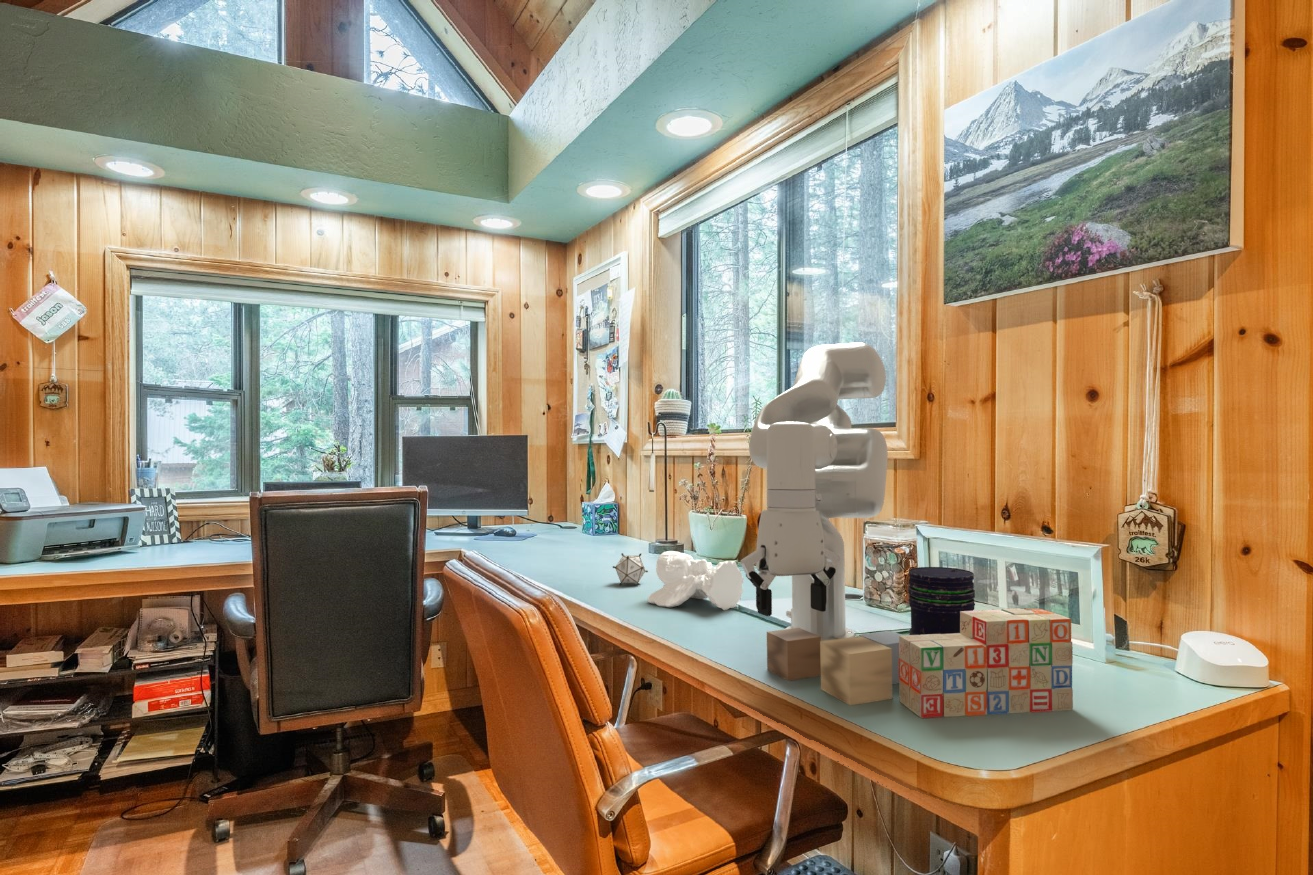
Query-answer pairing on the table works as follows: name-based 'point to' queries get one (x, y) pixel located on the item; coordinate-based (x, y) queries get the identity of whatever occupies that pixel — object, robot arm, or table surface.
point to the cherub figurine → (696, 581)
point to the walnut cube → (793, 653)
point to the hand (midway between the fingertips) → (791, 612)
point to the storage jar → (939, 599)
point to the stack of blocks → (989, 665)
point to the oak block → (856, 670)
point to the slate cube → (892, 642)
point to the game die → (630, 569)
